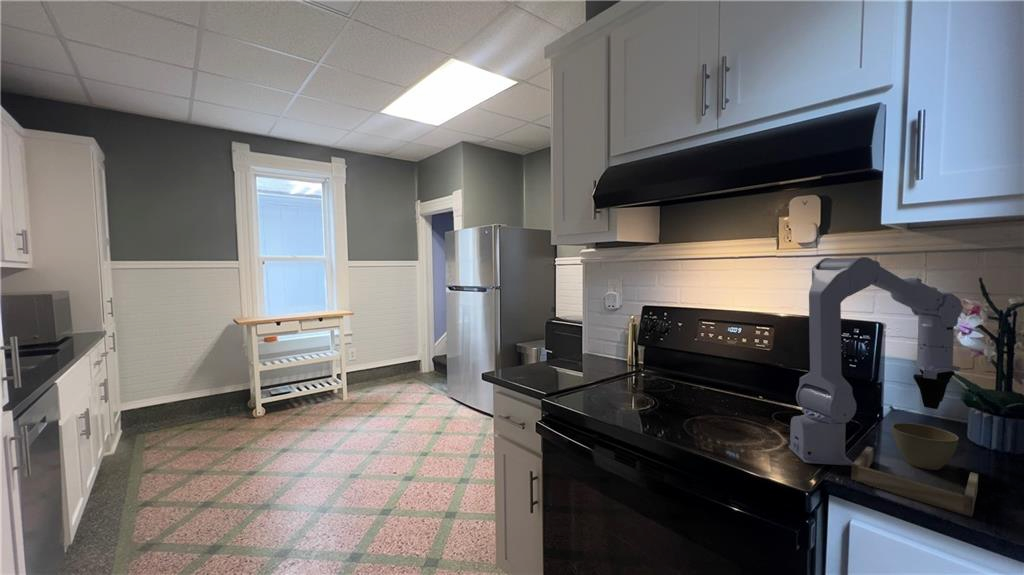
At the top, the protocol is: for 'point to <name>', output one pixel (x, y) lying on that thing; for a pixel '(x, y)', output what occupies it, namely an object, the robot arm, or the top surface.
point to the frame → (915, 486)
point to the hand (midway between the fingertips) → (933, 404)
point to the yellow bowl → (924, 444)
